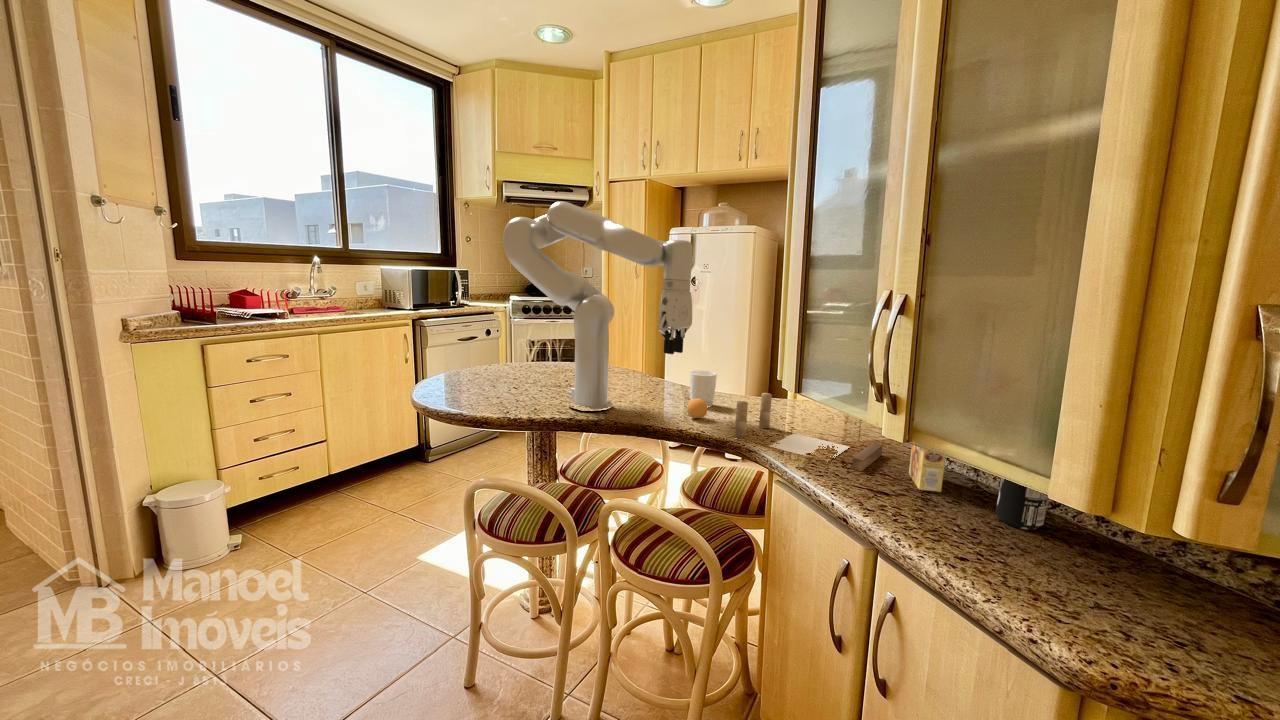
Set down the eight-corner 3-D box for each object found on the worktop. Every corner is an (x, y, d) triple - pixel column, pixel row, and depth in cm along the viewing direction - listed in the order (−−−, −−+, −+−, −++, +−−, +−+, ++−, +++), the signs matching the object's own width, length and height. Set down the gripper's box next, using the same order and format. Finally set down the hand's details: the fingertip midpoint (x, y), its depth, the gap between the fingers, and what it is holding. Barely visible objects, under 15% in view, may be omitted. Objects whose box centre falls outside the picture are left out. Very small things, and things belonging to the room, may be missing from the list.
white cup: (684, 402, 159) (686, 370, 158) (708, 401, 162) (710, 370, 160) (694, 409, 152) (696, 376, 150) (719, 408, 154) (721, 375, 153)
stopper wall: (851, 469, 109) (852, 457, 109) (872, 452, 120) (873, 442, 120) (861, 471, 108) (862, 460, 108) (881, 455, 119) (882, 444, 118)
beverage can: (997, 509, 93) (1007, 445, 91) (1043, 521, 89) (1055, 454, 87) (992, 522, 88) (1004, 454, 86) (1041, 535, 84) (1054, 464, 81)
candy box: (942, 493, 99) (953, 415, 96) (917, 490, 100) (928, 413, 97) (928, 476, 107) (938, 403, 105) (906, 473, 108) (915, 401, 106)
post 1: (732, 438, 127) (734, 402, 125) (737, 435, 129) (740, 400, 127) (741, 440, 125) (744, 404, 124) (747, 438, 127) (749, 402, 126)
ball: (682, 418, 142) (683, 398, 141) (693, 414, 146) (695, 395, 145) (699, 422, 139) (700, 402, 138) (710, 418, 143) (712, 399, 142)
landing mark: (768, 446, 121) (768, 446, 121) (794, 434, 132) (794, 433, 132) (828, 462, 113) (828, 461, 113) (850, 447, 123) (850, 446, 123)
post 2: (757, 427, 136) (759, 394, 135) (761, 425, 138) (764, 392, 137) (766, 429, 135) (769, 395, 133) (770, 427, 137) (773, 394, 135)
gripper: (669, 287, 134) (665, 357, 137) (704, 287, 146) (700, 351, 149) (646, 285, 138) (643, 354, 141) (682, 285, 151) (679, 348, 154)
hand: (673, 352), depth 145 cm, fingers open, 3 cm apart
